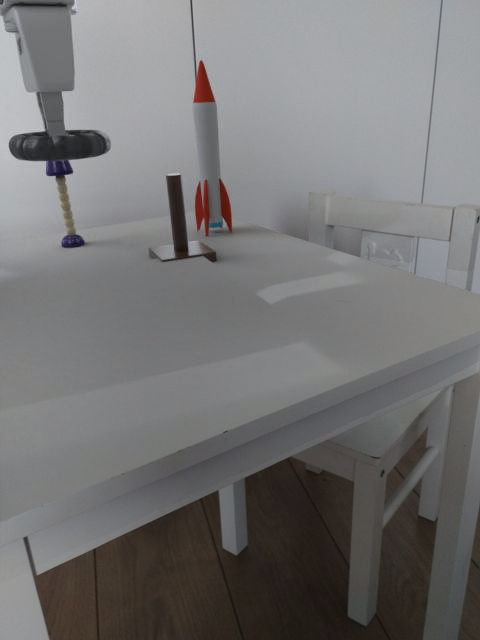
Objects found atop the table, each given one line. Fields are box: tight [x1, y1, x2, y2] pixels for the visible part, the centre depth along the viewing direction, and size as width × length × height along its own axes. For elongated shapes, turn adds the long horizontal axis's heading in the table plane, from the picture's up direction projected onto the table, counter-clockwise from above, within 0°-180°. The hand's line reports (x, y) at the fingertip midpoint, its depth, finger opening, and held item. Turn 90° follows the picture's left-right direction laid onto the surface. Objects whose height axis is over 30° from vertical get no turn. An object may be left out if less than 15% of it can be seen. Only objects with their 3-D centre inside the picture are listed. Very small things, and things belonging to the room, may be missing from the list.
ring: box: [8, 129, 112, 162], centre depth 62 cm, size 10×10×2 cm
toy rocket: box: [192, 59, 233, 237], centre depth 105 cm, size 6×6×30 cm
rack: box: [148, 172, 218, 263], centre depth 92 cm, size 9×9×14 cm
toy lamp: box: [45, 160, 86, 248], centre depth 104 cm, size 5×5×17 cm
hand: (55, 136), depth 65 cm, fingers closed on ring, 2 cm apart
